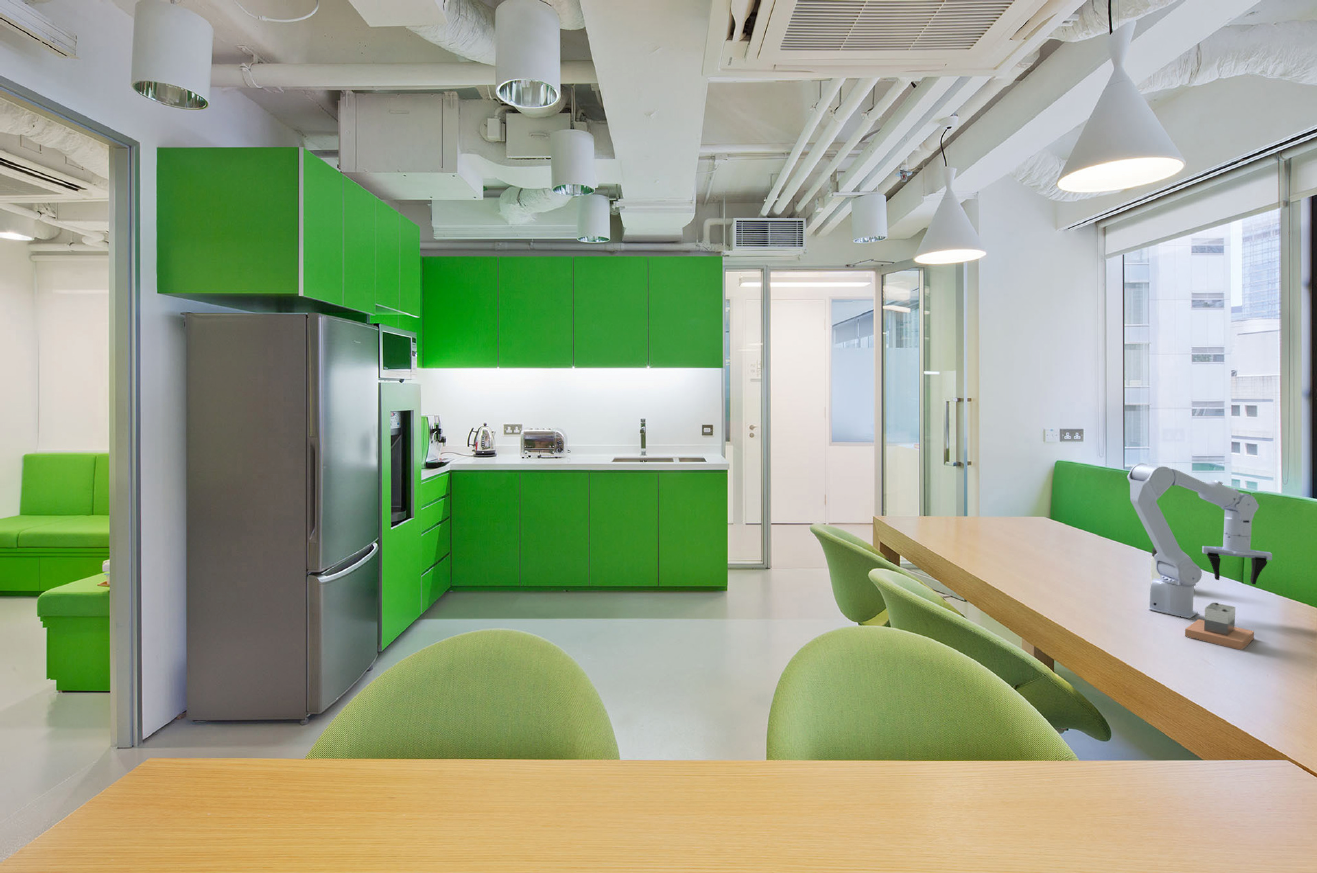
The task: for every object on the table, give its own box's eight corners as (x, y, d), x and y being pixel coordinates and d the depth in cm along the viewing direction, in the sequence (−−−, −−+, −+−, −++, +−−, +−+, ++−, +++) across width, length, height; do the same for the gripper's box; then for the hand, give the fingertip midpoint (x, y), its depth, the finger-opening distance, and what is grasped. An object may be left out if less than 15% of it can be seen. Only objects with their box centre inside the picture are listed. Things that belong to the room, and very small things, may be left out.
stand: (1184, 636, 161) (1185, 629, 161) (1198, 626, 168) (1198, 619, 168) (1242, 650, 152) (1242, 642, 152) (1253, 638, 159) (1254, 631, 159)
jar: (1156, 588, 202) (1157, 552, 202) (1144, 581, 210) (1146, 546, 209) (1189, 590, 200) (1190, 553, 199) (1176, 583, 207) (1178, 548, 207)
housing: (1211, 624, 164) (1212, 601, 163) (1234, 629, 160) (1235, 605, 160) (1204, 630, 160) (1205, 606, 159) (1227, 636, 156) (1228, 611, 156)
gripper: (1206, 534, 177) (1203, 580, 178) (1276, 540, 169) (1273, 589, 170) (1201, 529, 183) (1199, 575, 184) (1269, 535, 175) (1266, 582, 176)
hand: (1234, 581), depth 178 cm, fingers open, 7 cm apart
